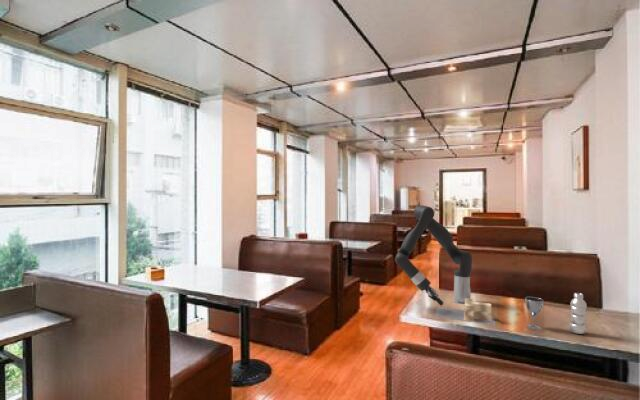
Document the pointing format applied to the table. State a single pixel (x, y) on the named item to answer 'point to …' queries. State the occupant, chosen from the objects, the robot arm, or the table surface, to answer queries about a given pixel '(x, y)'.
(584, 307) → the plastic bottle
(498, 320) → the table surface
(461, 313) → the T board
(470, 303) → the maple T block
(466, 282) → the robot arm
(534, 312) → the wine glass
